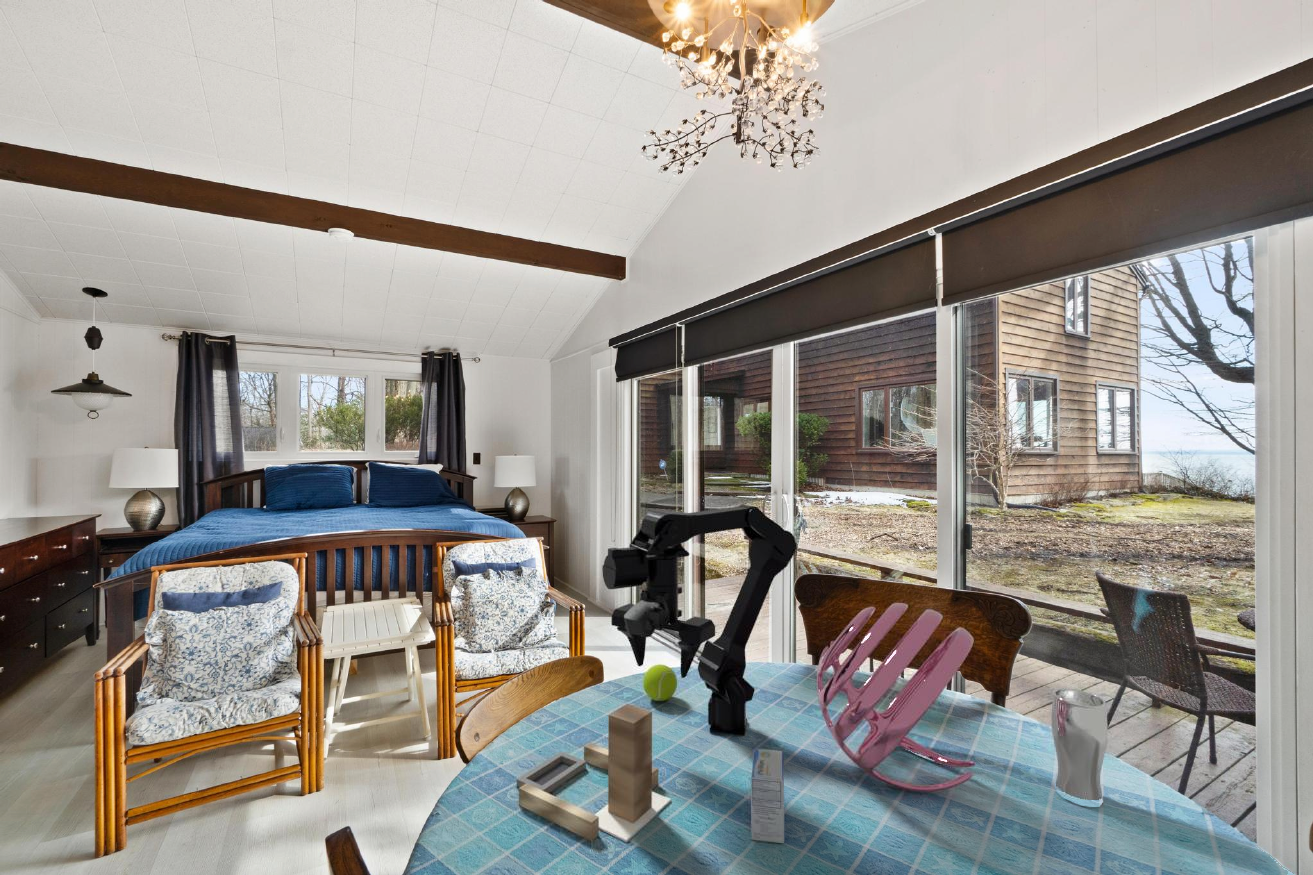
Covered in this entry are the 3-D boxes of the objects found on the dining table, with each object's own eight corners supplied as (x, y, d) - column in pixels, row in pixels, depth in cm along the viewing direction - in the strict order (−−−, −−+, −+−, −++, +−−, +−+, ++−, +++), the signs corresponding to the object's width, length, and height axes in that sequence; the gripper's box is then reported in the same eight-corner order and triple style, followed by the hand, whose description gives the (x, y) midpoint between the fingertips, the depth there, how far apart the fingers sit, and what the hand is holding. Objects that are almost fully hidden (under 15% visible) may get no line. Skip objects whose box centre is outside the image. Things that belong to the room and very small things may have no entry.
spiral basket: (1060, 659, 94) (907, 547, 106) (1019, 772, 74) (837, 618, 87) (960, 750, 109) (836, 643, 121) (904, 864, 89) (763, 722, 102)
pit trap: (516, 786, 93) (516, 779, 93) (561, 758, 101) (561, 751, 101) (542, 798, 90) (542, 790, 90) (586, 768, 98) (586, 761, 98)
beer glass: (1097, 787, 93) (1097, 691, 93) (1115, 814, 86) (1115, 710, 86) (1045, 779, 95) (1045, 685, 95) (1059, 804, 89) (1059, 703, 89)
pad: (586, 823, 84) (586, 821, 84) (633, 785, 93) (633, 783, 93) (626, 842, 80) (626, 839, 80) (670, 801, 89) (670, 799, 89)
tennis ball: (636, 698, 124) (636, 665, 124) (660, 689, 129) (660, 656, 129) (659, 710, 119) (659, 675, 119) (683, 699, 124) (684, 666, 124)
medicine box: (784, 845, 80) (784, 780, 80) (750, 840, 80) (750, 776, 80) (783, 809, 87) (784, 750, 87) (752, 805, 88) (753, 746, 88)
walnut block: (627, 796, 90) (627, 703, 90) (651, 807, 87) (652, 711, 87) (608, 812, 86) (608, 714, 86) (633, 823, 83) (633, 723, 83)
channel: (518, 805, 88) (518, 788, 88) (589, 757, 101) (589, 742, 101) (591, 841, 80) (591, 822, 80) (658, 784, 93) (658, 768, 93)
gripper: (591, 584, 104) (591, 674, 104) (682, 601, 94) (682, 700, 94) (630, 572, 113) (629, 655, 113) (716, 586, 103) (716, 677, 103)
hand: (661, 671), depth 105 cm, fingers open, 9 cm apart
